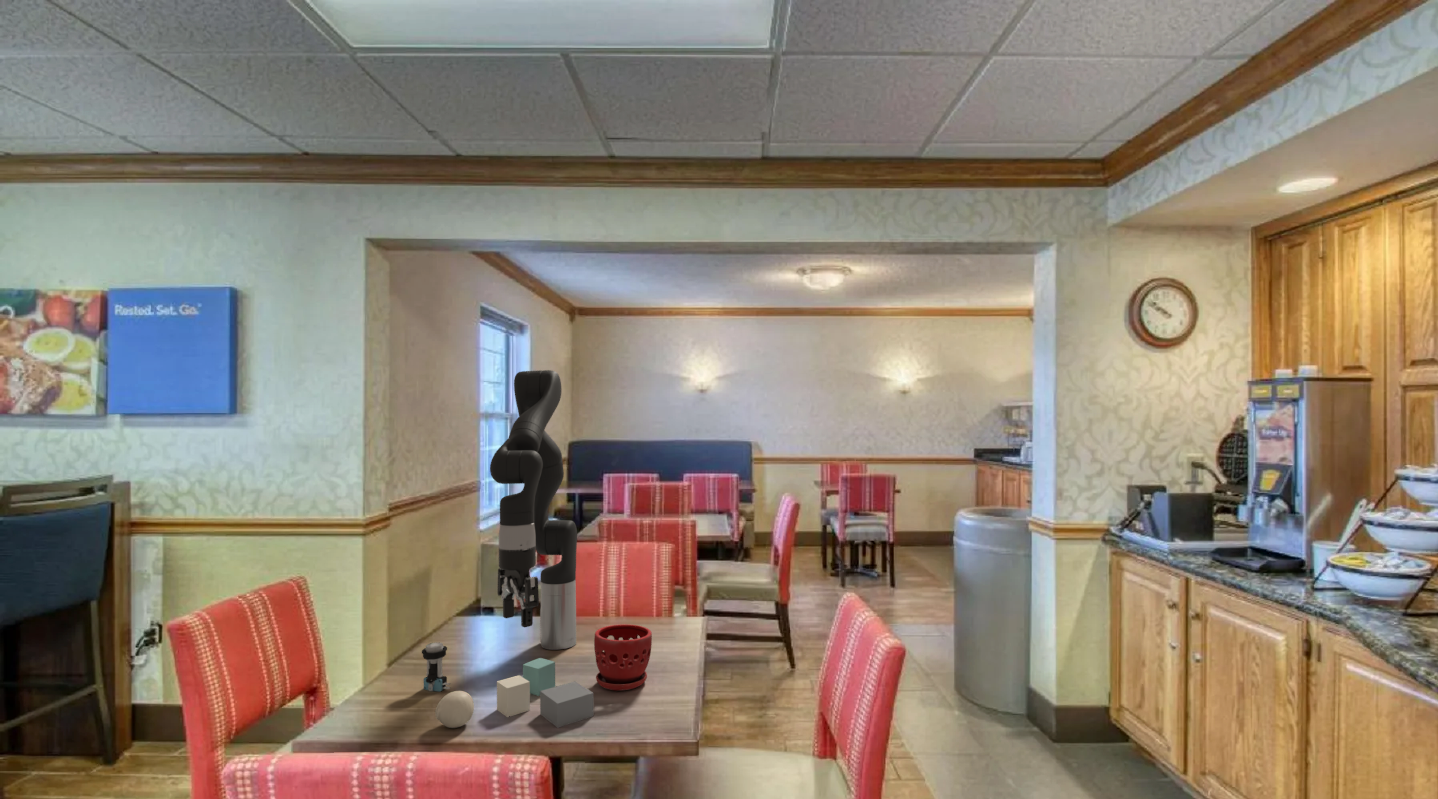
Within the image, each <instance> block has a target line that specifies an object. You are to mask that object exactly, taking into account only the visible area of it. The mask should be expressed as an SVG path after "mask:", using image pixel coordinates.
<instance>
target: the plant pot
mask: <svg viewBox="0 0 1438 799" xmlns="http://www.w3.org/2000/svg"><path fill="white" fill-rule="evenodd" d="M652 635H653V633H652V631H651V630H650V629H649V628H647V627H645V626H642V625H639V624H638V625H637V624H628V623H625V624H622V623H621V624H610V625H606V626H603V627H600V628H599V629H597V630H596V631H595V633H594V638H593V639H594V640H593V642H594V643H593V645H594V646H593V647H594V654H595V664H596V667H597V669H598V672H597V674H596V675H595V679H596V682H597V684H598V685H599V686H600V687H602V688H603V689H605V690H611V691H629V690H633V689H635V688H638V687H640V686H642V685H643V684H644V683H645V681H646V680H647V678H648V673H647V672H646V670H647V668H648V665H649V662H650V659H651V653H652V646H653V645H652V644H653V642H652V640H653V636H652ZM610 636H612V637H613V639H611V638H609V637H610ZM638 637H639V638H638Z"/></svg>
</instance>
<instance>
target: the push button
mask: <svg viewBox="0 0 1438 799" xmlns="http://www.w3.org/2000/svg"><path fill="white" fill-rule="evenodd" d="M447 651H448V647H447V646H446V645H444V643H443V642H431V643H428V644H426V645H425V648H422V649H421V654H422V657H423V659H425V660H426V673H425V677H424V678H423V690H426V691H428V692H441V691H444V690H445V689H446V690H450V689H451V687H450V685H451V684H452V683H450V682H448V680H447V679H448V678H447V675H444V674H443V658H444V657H445V656H447Z"/></svg>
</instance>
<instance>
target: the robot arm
mask: <svg viewBox="0 0 1438 799" xmlns="http://www.w3.org/2000/svg"><path fill="white" fill-rule="evenodd" d="M513 386H514V387H513V390H514V399H515V402H516V407H517V413H518V417H517V418H516V419H515V421H514V422H513V425H512V427H511V430H510V433H509V436H508V438H507V439H506V440H505V441H504V442H503V444H501V445H500V447H499V448H498V449H497V450H496V451H495V452H494V454H493V456H492V458H491V461H490V464H489V472H490V473H489V474H490V476H491V478H492V479H493V480H494V482H496V483H498V484H503V485H511V484H512V485H517V484H519V485H521V484H523V488H522V490H521V491H520V492H518V493H514V494H513V493H512V494H508V495H505V496H504V497H502V498H500V502H499V530H498V569H497V591H496V592H497V596H500V598H501V599H500V600H501V601H502V617H503V618H504V619H510V618H513V617H514V616H515V599H514V598H516V600H517V601H519V605H520V608H521V609H520V610H521V611H520V614H521V615H520V618H521V619H520V621H521V622H520V626H521V627H523V628H528V627H532V626H533V624H534V622H533V620H534V619H533V616H534V615H533V612H534V611H533V608H535V607H539V605H540V608H539V609H540V610H539V616H540V618H539V620H540V621H539V622H540V623H539V624H540V626H539V627H540V628H539V630H540V631H539V632H540V634H539V635H540V637H539V638H540V646H541V647H542V648H543V649H545V650H553V651H554V650H555V651H556V650H558V651H559V650H563V649H564V650H566V649H568V648H572V647H574V646H575V645H576V644H577V590H576V589H577V588H576V586H577V585H576V584H577V582H576V581H577V580H576V577H577V576H576V575H577V572H576V571H577V545H578V528H577V525H576V523H575V521H573V520H570V519H569V520H568V519H567V520H566V519H565V520H562V519H561V520H560V519H555V520H554V519H553V520H552V519H551V520H549V517H548V516H549V515H548V512H549V507H550V505H551V502H552V500H553V499H554V497H555V495H556V493H557V492H558V490H559V489H560V487H561V485H562V482H563V480H564V474H565V473H564V470H565V469H564V464H563V462H564V461H563V455H562V450H561V449H560V447H559V446H558V444H557V443H556V441H555V440H553V438H552V437H551V436H550V435H549V434H548V433H547V431H545V429H546V428H547V425H548V423H549V422H550V420H551V418H552V416H553V415H554V413H555V411H556V410H557V408H558V405H559V403H560V400H561V397H562V381H561V378H560V375H559V373H558V372H557V371H555V370H549V369H544V370H543V369H542V370H541V369H540V370H526V371H525V370H523V371H518V372H517V373H516V374H515V375H514V380H513ZM536 552H537V553H538V554H539V555H542V556H561V559H560V561H559V562H558V563H555V564H553V565H550V566H548V567H546V568H544V569H542V570H541V571H540V597H539V579H538V576H531V573H530V570H531V569H533V568H534V567H535V566H536V563H537V562H536V561H537V559H536V558H537V557H536V556H537V554H536ZM539 598H540V599H539ZM539 603H540V604H539Z"/></svg>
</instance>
